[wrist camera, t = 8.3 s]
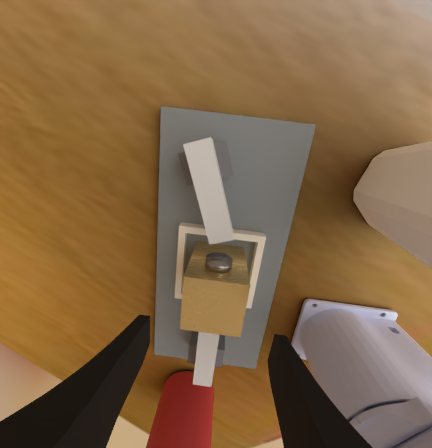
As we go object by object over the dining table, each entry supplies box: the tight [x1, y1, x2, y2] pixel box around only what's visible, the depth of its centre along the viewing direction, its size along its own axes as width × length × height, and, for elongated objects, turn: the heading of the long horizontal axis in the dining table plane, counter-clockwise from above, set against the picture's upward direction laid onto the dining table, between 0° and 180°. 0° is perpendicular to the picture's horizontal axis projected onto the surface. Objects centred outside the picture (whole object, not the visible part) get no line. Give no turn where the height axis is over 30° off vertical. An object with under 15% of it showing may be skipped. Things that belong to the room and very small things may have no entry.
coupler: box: [180, 241, 250, 337], centre depth 17 cm, size 4×6×6 cm
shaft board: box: [154, 106, 316, 387], centre depth 18 cm, size 12×26×5 cm, turn 174°
